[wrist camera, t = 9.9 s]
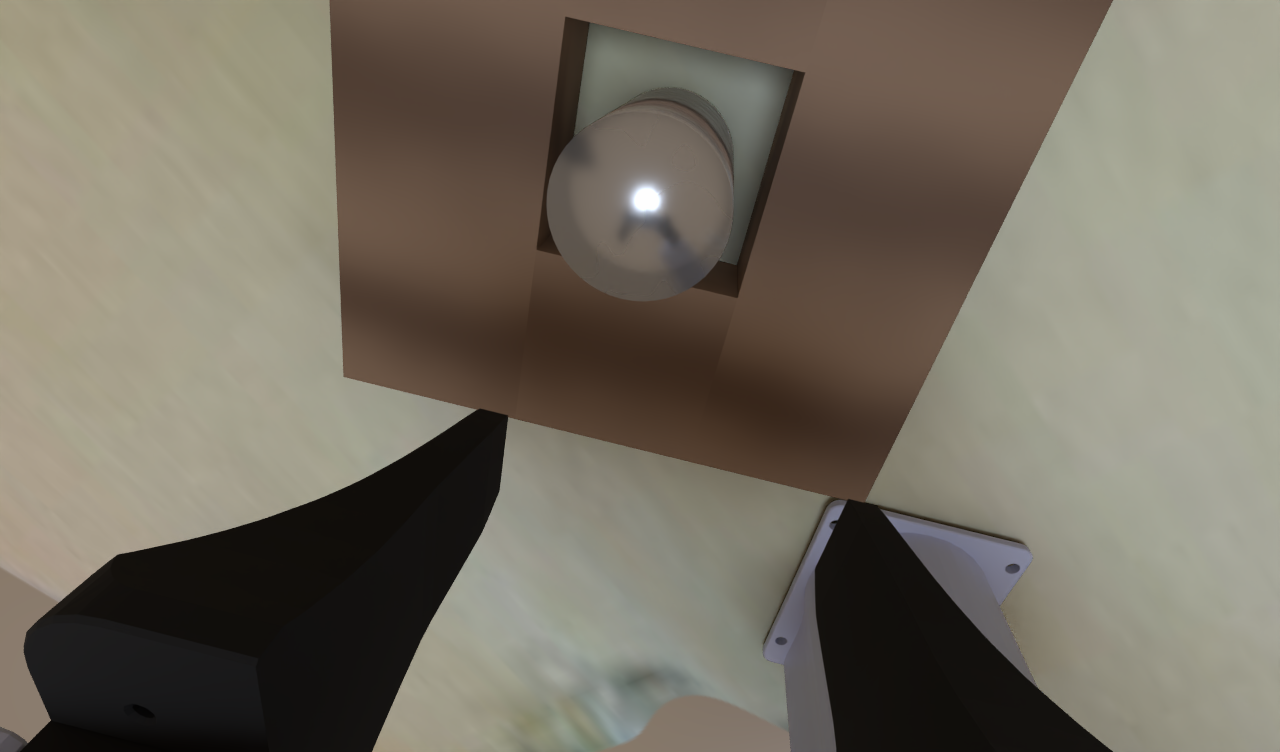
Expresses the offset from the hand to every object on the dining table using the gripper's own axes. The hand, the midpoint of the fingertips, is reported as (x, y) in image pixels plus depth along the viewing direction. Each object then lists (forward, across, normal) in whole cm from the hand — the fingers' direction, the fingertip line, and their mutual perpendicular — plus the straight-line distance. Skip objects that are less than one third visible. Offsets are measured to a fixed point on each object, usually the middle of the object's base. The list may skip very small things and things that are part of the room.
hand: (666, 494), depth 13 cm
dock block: (+10, +2, -5) cm, 11 cm away
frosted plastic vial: (+10, +2, -5) cm, 11 cm away
